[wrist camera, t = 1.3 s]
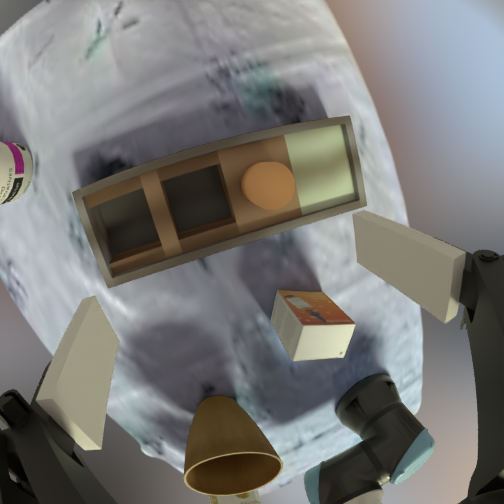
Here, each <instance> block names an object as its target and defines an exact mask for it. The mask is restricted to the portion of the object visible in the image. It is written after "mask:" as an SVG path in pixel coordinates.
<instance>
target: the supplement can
mask: <svg viewBox="0 0 504 504" xmlns="http://www.w3.org/2000/svg"><path fill="white" fill-rule="evenodd" d="M32 168H33V163H32V159H31V155H30V153H29V152H28V150H27V148H26V147H25V146H23V145H21V144H20V143H10V142H0V205H1V204H4V203H8V202H11V201H14V200H17V199H19V198H20V197H21V196H22V195H23V194H24V193H25V192H26V190H27V188H28V187H29V185H30V182H31V178H32Z"/></svg>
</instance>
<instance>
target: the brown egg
mask: <svg viewBox="0 0 504 504" xmlns="http://www.w3.org/2000/svg"><path fill="white" fill-rule="evenodd" d="M241 190H242V193H243V195H244V196H245V197H246V199H247V200H249V201H250V202H252V203H253V204H255V205H257V206H259V207H261V208H263V209H266V210H276V209H280V208H282V207H284V206H285V205H286V204H288V203H289V201H290V200H291V199H292V197H293V194H294V191H295V180H294V177H293V174H292V173H291V171H290V170H289V169H288V168H287V167H286V166H285V165H283V164H281V163H278V162H258V163H254V164H252V165H250V166H249V167H248V168H247V169H246V170H245V171H244V173H243V175H242V178H241Z"/></svg>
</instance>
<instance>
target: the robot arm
mask: <svg viewBox="0 0 504 504" xmlns="http://www.w3.org/2000/svg"><path fill="white" fill-rule="evenodd" d="M353 223H354V232H355V242H356V254H357V263H359V264H360V265H362V266H363V267H365V268H366V269H368V270H369V271H371V272H372V273H374V274H375V275H377V276H378V277H380V278H381V279H383V280H384V281H386V282H387V283H389V284H390V285H392V286H393V287H394V288H396V289H397V290H399V291H400V292H402V293H403V294H404V295H406V296H407V297H409V298H410V299H412V300H413V301H414V302H416V303H417V304H419V305H420V306H421V307H423V308H424V309H426V310H427V311H428V312H430V313H431V314H433V315H434V316H435V317H437V318H438V319H439V320H441V321H442V322H443V323H446V322H448V321H449V320H451V319H452V318H454V317H455V316H456V315H457V311H458V306H459V302H460V303H462V304H463V305H465V307H464V313H463V317H462V321H461V326H460V329H463V325H464V324H465V323H466V329H467V332H468V337H469V342H470V348H471V354H472V361H473V367H474V375H475V384H476V395H477V410H478V460H477V465H476V468H475V471H474V473H473V475H472V477H471V481H470V484H469V489H468V496H467V498H466V499H464V500H462V501H461V502H460V503H458V504H504V255H502V256H499V255H498V254H497V253H495V252H493V251H490V250H478V251H476V252H474V253H473V254H471V253H469V252H466V251H464V250H462V249H460V248H458V247H456V246H453V245H450V244H449V243H447V242H443V241H442V240H440V239H437V238H435V237H431V236H429V235H426V234H424V233H422V232H419V231H417V230H414V229H412V228H409V227H407V226H404V225H402V224H399V223H397V222H394V221H392V220H389V219H387V218H384V217H381V216H379V215H376V214H373V213H371V212H368V211H365V210H363V211H360V212H357V213H354V214H353ZM118 346H119V339H118V337H117V336H116V334H115V332H114V330H113V329H112V327H111V325H110V323H109V321H108V319H107V318H106V316H105V314H104V312H103V310H102V308H101V306H100V304H99V302H98V300H97V298H96V296H92V297H89V298H86V299H83V300H82V301H81V303H80V305H79V307H78V309H77V311H76V313H75V314H74V316H73V318H72V320H71V322H70V324H69V326H68V328H67V330H66V332H65V334H64V336H63V338H62V340H61V342H60V344H59V346H58V348H57V351H56V353H55V355H54V357H53V359H52V360H51V362H50V363H49V364H48V365H47V367H46V368H45V370H44V372H43V375H42V378H41V380H40V382H39V385H38V387H37V389H36V392H35V394H34V397H33V399H32V402H31V404H30V405H29V404H28V403H27V402H26V401H25V400H24V398H23V397H22V396H21V395H20V393H19V392H18V391H17V390H14V389H12V390H8V391H7V392H5V393H3V394H2V395H1V396H0V419H1V420H2V421H3V423H4V424H6V426H7V427H8V429H5V430H1V429H0V504H118V503H117V502H116V501H115V500H114V499H113V497H112V496H111V495H110V494H109V493H108V492H107V490H106V489H105V488H104V487H103V485H101V483H100V482H99V480H98V479H97V478H96V477H95V476H94V474H93V473H92V471H91V470H90V469H89V467H88V466H87V465H86V463H85V462H84V460H83V459H82V457H81V456H80V455H79V454H78V453H77V452H76V451H75V450H74V443H75V442H76V443H77V444H79V445H80V446H81V447H82V448H83V449H84V450H95V449H101V447H102V439H103V430H104V423H105V416H106V409H107V403H108V397H109V391H110V385H111V380H112V374H113V369H114V364H115V360H116V355H117V350H118ZM336 414H337V417H338V418H339V420H340V421H341V423H342V424H343V425H345V426H346V427H348V428H349V429H351V430H352V431H354V432H355V433H357V434H358V435H359V436H360V437H361V439H362V440H363V441H362V442H360V443H358V444H356V445H354V446H353V447H351V448H349V449H347V450H345V451H344V452H342V453H340V454H338V455H336V456H334V457H332V458H330V459H328V460H326V461H322V462H321V463H320V464H319V465H317V466H315V467H313V468H311V469H309V470H308V471H307V472H306V473H305V476H304V485H305V490H306V494H307V497H308V499H309V502H310V503H311V504H382V503H381V499H382V497H383V495H384V491H383V489H382V488H381V486H383V485H384V484H386V483H387V482H389V481H390V483H392V484H394V485H396V484H399V483H400V482H402V481H404V480H406V479H407V478H408V477H410V476H411V475H412V474H413V473H414V472H415V471H417V470H418V469H419V468H420V467H421V466H422V465H423V464H424V462H425V461H426V460H427V459H428V458H429V456H430V455H431V453H432V452H433V450H434V447H435V441H434V439H433V438H432V436H431V435H430V434H429V433H428V430H427V429H426V428H425V427H424V426H423V425H422V424H421V423H420V422H419V421H418V420H417V419H416V417H415V416H414V415H413V414H412V413H411V412H410V411H409V410H408V409H407V408H406V406H405V405H404V404H403V403H402V402H401V399H400V396H399V393H398V391H397V388H396V385H395V383H394V381H393V380H392V379H391V378H390V377H389V376H388V375H386V374H376V375H372V376H370V377H367V378H365V379H364V380H362V381H360V382H359V383H357V384H356V385H355V386H353V387H352V388H351V389H350V390H349V391H348V392H347V393H346V394H345V395H344V396H343V397H342V399H341V400H340V402H339V404H338V406H337V409H336ZM9 472H10V473H11V474H13V475H14V476H15V477H16V480H17V483H16V482H14V481H13V480H12V479H11V478H10V475H9Z"/></svg>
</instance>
